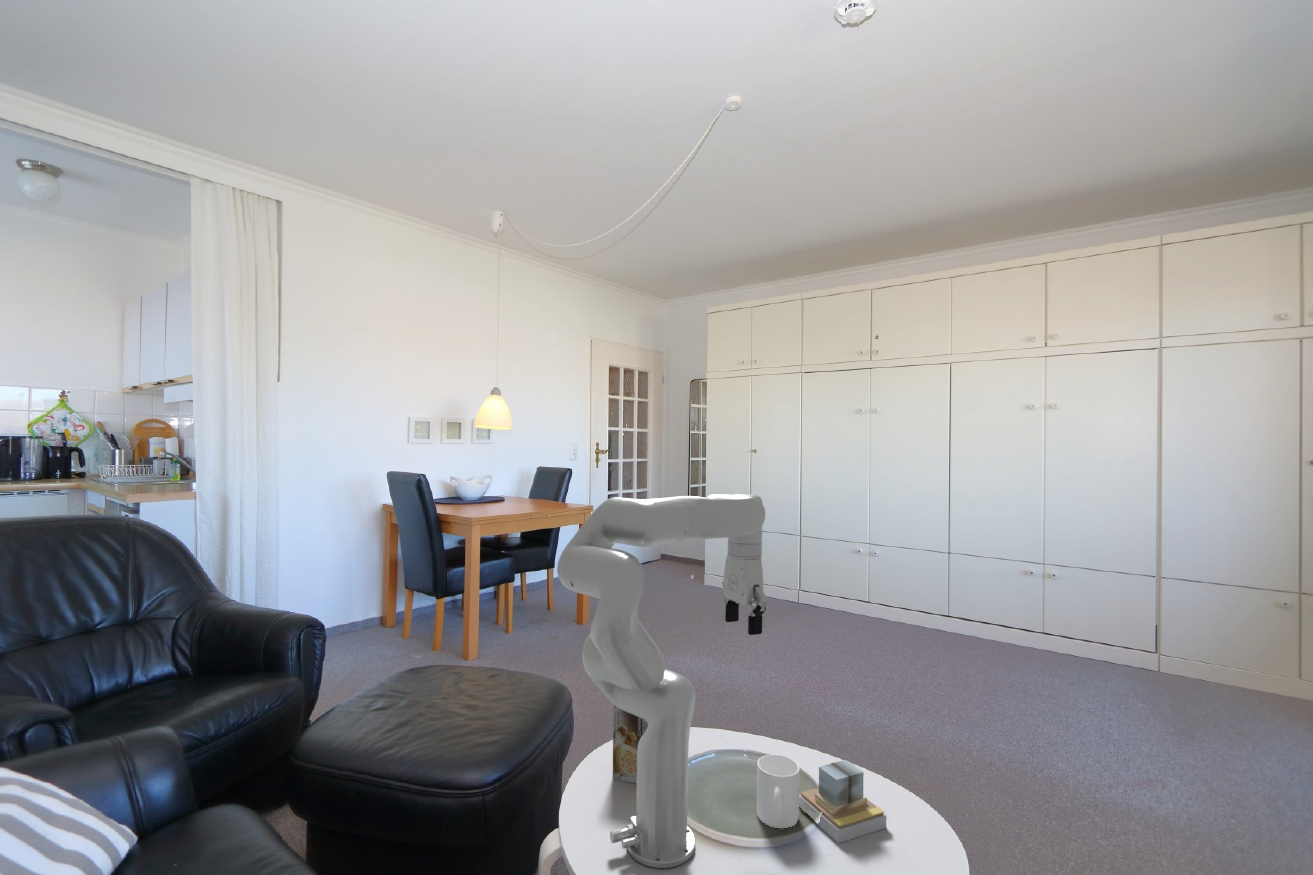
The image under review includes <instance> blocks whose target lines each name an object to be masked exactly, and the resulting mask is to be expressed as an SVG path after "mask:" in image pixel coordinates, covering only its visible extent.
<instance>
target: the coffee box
mask: <svg viewBox="0 0 1313 875" xmlns="http://www.w3.org/2000/svg"><path fill="white" fill-rule="evenodd" d="M612 710H613V714H612V715H613V716H612V717H613V718H612V721H613V722H612V723H613V725H612V779H613V780H616V781H622V782H628V783H633V784H637V748H638V743H639V740H640V738H641V737H642V735H643V734H644V732H645V731H646V730H647V727H648V724H647V722H646V721H645V720H643V719H641V718H639V717H637V716H635V715H632V714H630V713H628V712H626V711H624V710H621V709H620V708H618V707H616V706H615V705H614V704H613V709H612Z"/></svg>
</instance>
